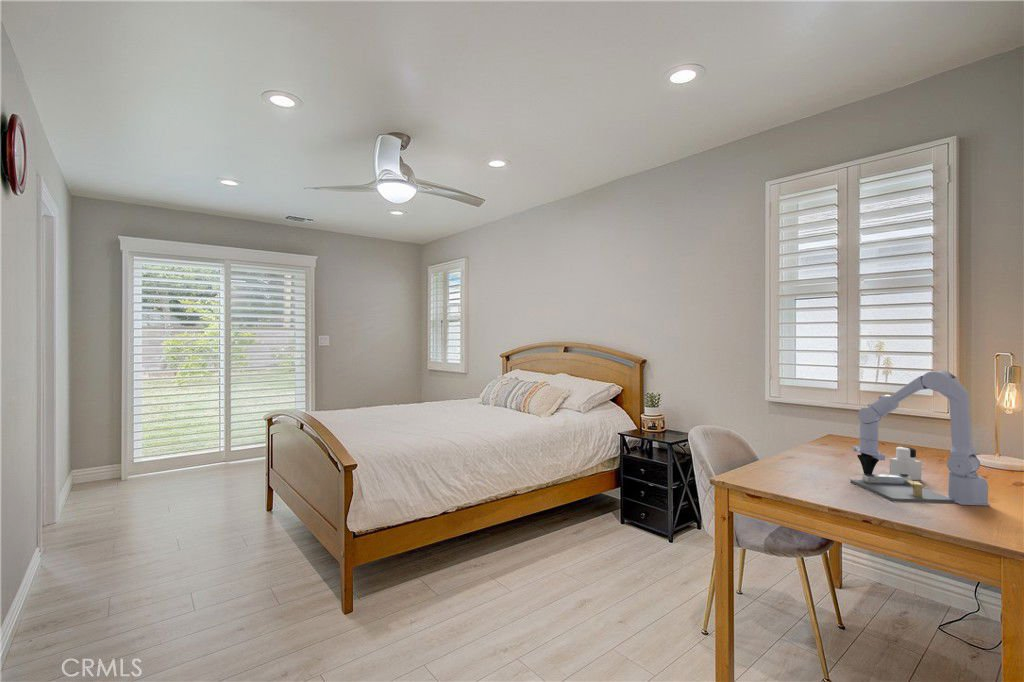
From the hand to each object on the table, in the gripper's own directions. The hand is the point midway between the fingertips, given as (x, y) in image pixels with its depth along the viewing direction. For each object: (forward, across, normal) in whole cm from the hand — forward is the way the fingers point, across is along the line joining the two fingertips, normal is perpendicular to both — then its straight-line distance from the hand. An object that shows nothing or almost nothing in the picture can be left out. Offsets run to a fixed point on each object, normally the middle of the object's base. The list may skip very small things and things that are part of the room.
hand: (867, 474), depth 185 cm
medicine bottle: (+2, -4, +18) cm, 18 cm away
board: (+2, +14, +2) cm, 14 cm away
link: (+1, +7, +3) cm, 7 cm away
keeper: (+1, +19, +3) cm, 19 cm away
